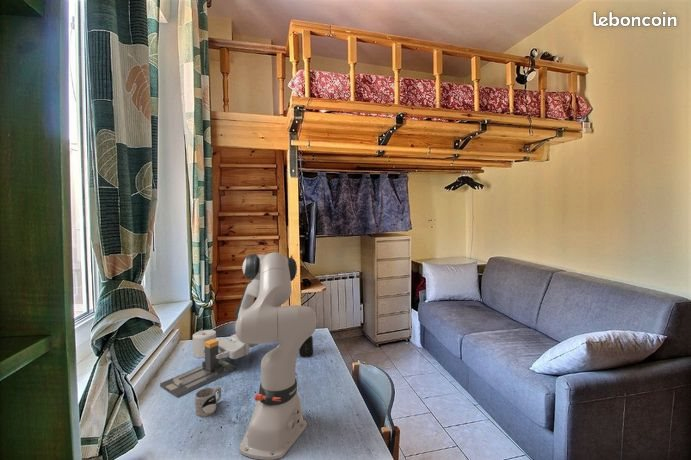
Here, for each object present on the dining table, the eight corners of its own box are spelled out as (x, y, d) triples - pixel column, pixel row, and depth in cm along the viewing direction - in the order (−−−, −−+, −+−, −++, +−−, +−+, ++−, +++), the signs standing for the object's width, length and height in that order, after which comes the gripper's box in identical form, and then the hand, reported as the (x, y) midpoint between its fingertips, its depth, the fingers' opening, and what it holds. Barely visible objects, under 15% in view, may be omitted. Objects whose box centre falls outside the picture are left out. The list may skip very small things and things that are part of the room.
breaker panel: (218, 361, 148) (218, 354, 148) (236, 369, 140) (236, 362, 139) (160, 386, 126) (159, 378, 126) (177, 397, 118) (177, 389, 118)
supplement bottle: (314, 351, 157) (313, 328, 156) (311, 358, 150) (311, 333, 149) (300, 351, 157) (300, 327, 157) (297, 357, 151) (297, 333, 150)
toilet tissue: (207, 347, 164) (207, 328, 163) (222, 352, 158) (222, 332, 157) (188, 355, 155) (187, 335, 154) (203, 360, 148) (202, 340, 148)
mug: (204, 419, 106) (203, 400, 106) (191, 413, 109) (190, 395, 109) (227, 403, 115) (227, 385, 114) (214, 398, 118) (214, 381, 117)
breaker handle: (213, 364, 140) (213, 338, 140) (219, 367, 138) (218, 340, 137) (205, 368, 137) (204, 341, 136) (210, 371, 135) (209, 344, 134)
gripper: (224, 332, 154) (197, 341, 142) (250, 341, 142) (223, 352, 131) (224, 344, 154) (197, 355, 143) (251, 355, 142) (223, 367, 131)
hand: (210, 354), depth 137 cm, fingers open, 8 cm apart
